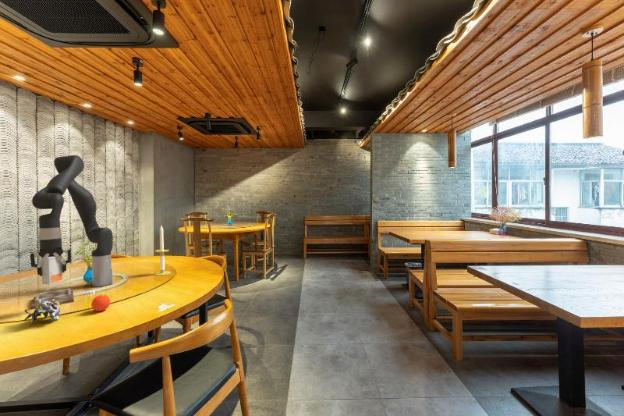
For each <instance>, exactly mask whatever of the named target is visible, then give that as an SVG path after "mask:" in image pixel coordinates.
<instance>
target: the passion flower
mask: <svg viewBox="0 0 624 416" xmlns="http://www.w3.org/2000/svg"><path fill="white" fill-rule="evenodd" d="M36 301H37V303H38V304H39V305H40V307H39V308H37V307H35V309H33V312H31V313H30V312H28V309H26V308H25V309H24V310H23V311H24V312H25V314H28V315H27V316H26V317H25V318H24V319H23V322H25V321H27V320H29V318H31V320H30V326H32V324H33V322H35V321H36V320H37V318H38V317H41V316H42V315H43V316H44V318H45V319H46V318H47V317H49V318H50V319H51V320H52V321H59V320H60V318H59V315H60V314H61V308H60V307H59V306H62V304H61V303H60V302H58V301H57V299H53V300H52V302H53V303H54V304H53V303H52V302H50V301H47V300H46V301H45V300H42V301H41V300H36ZM55 304H58V305H55Z"/></svg>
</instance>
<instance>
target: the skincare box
mask: <svg viewBox="0 0 624 416" xmlns="http://www.w3.org/2000/svg"><path fill="white" fill-rule="evenodd" d="M60 257H61V258H63V254H62V255H61V256H60ZM40 259H41V260H42V259H43V258H42V257H41V258H40ZM59 259H60V258H59ZM41 260H40V261H41ZM41 267H42V276H41V284H42V285H53V284H56V283H60V282H63V281H64V276H63V275H64V273H63V269H62V263H61V262H60V261H59V260H58V259H57V258H56V257H55V256H54V257H46V258H44V263H43V264H42V265H41Z"/></svg>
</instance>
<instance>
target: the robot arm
mask: <svg viewBox="0 0 624 416" xmlns="http://www.w3.org/2000/svg"><path fill="white" fill-rule="evenodd" d="M53 163H54V167H55V169H56V171H57V174H56V175H54V176H53V177H52V178H51V179H50V180H49V182H48V183H47V184H46V186H45V187H43V188H42V189H40V190H39V191H37V192H35V194H34V195H33V197H31V205H32V206H33V207H34V208H35V209H38V210H51V211H50V212H49V213H46V214H41V215H39V217H38V226H39V228H38V229H39V231H38V243H39V245H38V246H39V250H38V252H31V253H30V254H29V256H30V257H29V259H30V267H32V268H36V271H37V276H39V277H42V266H41V265H42V264H43V263H44V258H46V257H54V256H55V257H56V258H57V259H58V260H59V261H60V262H61V263H62V269H63V274H65V272H67V264H69V263H71V262H72V250H71V249H70V248H68V249H64V248H63V240H62V238H63V237H62V229H61V214H62V210H63V207H64V205H65V204H64V203H65V198H64V197H63V195H64V194H65V192H66V191H68V194H69V195H70V197H71V201H72V203H73V205H74V208H75V209H76V211H77V213H78V215H79V218H80V220H81V222H82V225H83V228H84V231H85V234H86V237H87V239H88V241H89V242H90V243H93V244H96V248H95V249H93V250H92V251H91V274H92V275H91V277H92V278H91V279H92V287H98V288H99V287H105V286H109V285H113V281H114V280H113V267H112V251H113V245H114V238H113V237H114V235H113V234H114V233H113V230H111V228H109V227H100V226H99V224H98V221H97V218H96V214H97V203H96V200H95V197H94V196H93V195H94V194H92V192H91V191H89V190H88V189H87V188H86V187H84V186H82V185H81V184H80V183H79V182H77V181H76V178H77V177H78V176H79V175H80V174H81V173H82V172H83V171H84V169H85V163H84V160H83V158H81V157H80V156H79V155H77V154H72V155H71V154H70V155H64V156H59V157H58V156H57V157H55V158H54V160H53ZM64 253H65V255H67V259H66V260H65V259H64V258H63V257H62V258H61V257H60V256H61V255H62V256H63V254H64ZM37 256H39V257H41V258H43V259H42V260H39V262H38V263H36V258H37ZM59 258H60V259H59Z"/></svg>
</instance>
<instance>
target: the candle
mask: <svg viewBox="0 0 624 416" xmlns="http://www.w3.org/2000/svg"><path fill="white" fill-rule="evenodd" d="M164 240H165V239H164V228H163V226H162V225H160V228H159V249H156V250H154V252H155V253H159V260H160V262H159V263H160V265H159V266H160V267H159V269H160V271H158V272H154V274H153V275H154V276H165V275H169V274H170V275H171V273H172V271H168V270H165V268H166V267H165V252H166V253H167V252H169V251H170V249H164V248H165V247H164V246H165V245H164Z"/></svg>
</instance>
